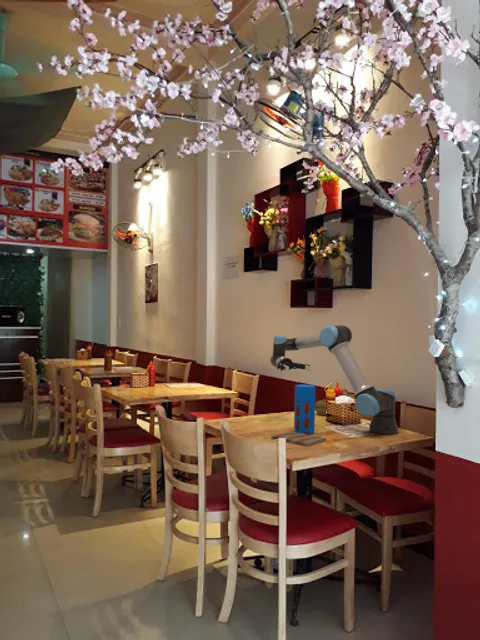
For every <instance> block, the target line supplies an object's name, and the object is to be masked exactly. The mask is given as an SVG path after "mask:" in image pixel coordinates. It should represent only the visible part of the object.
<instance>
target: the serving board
mask: <svg viewBox="0 0 480 640" xmlns="http://www.w3.org/2000/svg"><path fill="white" fill-rule="evenodd" d="M278 438H286V442H285V443H289V444H294V445H299V446H303V447H310V446H314V445H318V444H321V443H323V442H326V441H327V438H326V437H323V436H318V435H313V434H303V433H298V432H294V430H293V431H292V430H290V431H285V432H282V433H278V434H273V435H271V440H275V439H278ZM275 441H276V440H275Z"/></svg>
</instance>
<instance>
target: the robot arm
mask: <svg viewBox="0 0 480 640" xmlns="http://www.w3.org/2000/svg"><path fill="white" fill-rule="evenodd" d="M352 339H353V333H352V331H351V329H350V327H349V326H346V325H333V324H331V325H325V326H324V327H323V328H322V329H321V330H320V332H319V333H316V334H310V335H304V336H299V337H294V338H287V336H285V335H280V334H279V335H275V336H274V337H273V346H272V355H271V356H270V358H269V362H270V364H271V365H272V366H273V367H275V368H276V370H280V371H285V372H287V373H288V372H289V371H290V370H292V369H293V370H297V369H299V370H304V371H307V372H310V373H311V372H312V366H311V365H310V364H308V363H306V364H305V363H299V362H294V361H293V360H292V359H290V358H288V357H286V351H288V352H291V351H294V352H295V351H300V350H304V349H309V348H310V349H312V348H317V347H325V348H327V350H328V351H329V353H330V354H333V355H334V356H335V359H336V360H337V362H338V363H339V365H340V368H341V370H342V371H343V372H344V374H345V377H346V379H347V381H348V382H349V383H350V386H351V387H352V388H353V391H354V398H355V401H354V402H355V403H354V406H355V409H356V411H357V412H358V413H359V414H360V415H362V416H364V417H372V418H371V421H370V423H369V426H368V430H369V432H370V433H373V434H378V435H396V434H398V433H399V427H398V425H397V421H396V417H395V416H396V392H395V391H394V390H393V389H384V388H375V386H374V385H371V384H370V382H368V379H367V378H366V376H365V374H364V372H363V370H362V369H361V367H360V365H359V364H358V361H357V360H356V358H355V356H354V354H353V353H352V351H351V349H350V348H349V345H350V343H351V341H352Z"/></svg>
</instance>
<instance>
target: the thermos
mask: <svg viewBox="0 0 480 640" xmlns="http://www.w3.org/2000/svg"><path fill="white" fill-rule="evenodd" d="M315 403H316V386H315V385H314V384H295V385H294V414H293V415H294V417H293V418H294V419H293V421H294V422H293V429H294V430H293V432H298V433H303V434H308V435H313V434H315V422H316V420H315V419H316V418H315V417H316V411H315V408H316V405H315Z"/></svg>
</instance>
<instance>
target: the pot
mask: <svg viewBox="0 0 480 640" xmlns="http://www.w3.org/2000/svg"><path fill="white" fill-rule="evenodd" d="M326 400H327V399H325V398H323V399H322V400H321V399H320V400H317V401H315V413H316V414H317V415H320V416H327V415H326Z"/></svg>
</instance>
